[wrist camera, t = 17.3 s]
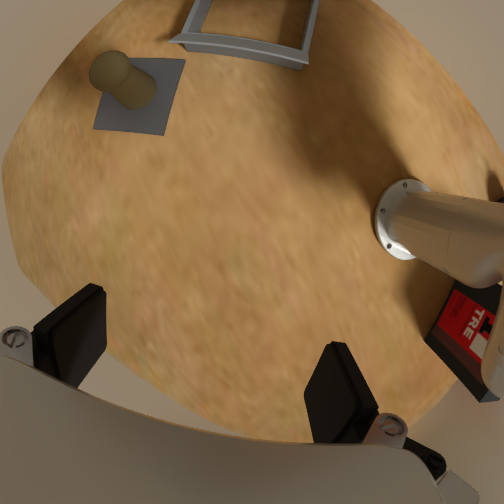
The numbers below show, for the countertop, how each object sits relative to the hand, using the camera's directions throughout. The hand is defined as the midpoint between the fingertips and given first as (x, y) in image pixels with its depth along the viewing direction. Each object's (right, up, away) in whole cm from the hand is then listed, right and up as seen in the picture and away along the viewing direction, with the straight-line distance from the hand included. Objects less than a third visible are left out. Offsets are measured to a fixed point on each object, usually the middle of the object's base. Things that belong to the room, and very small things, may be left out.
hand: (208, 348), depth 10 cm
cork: (-15, +27, +21) cm, 37 cm away
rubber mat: (-15, +27, +22) cm, 38 cm away
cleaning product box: (+42, -8, +32) cm, 54 cm away
